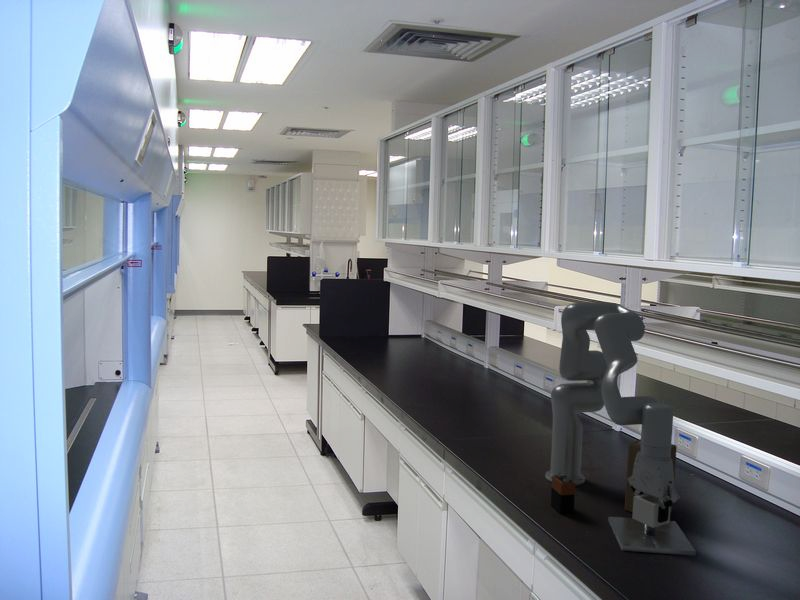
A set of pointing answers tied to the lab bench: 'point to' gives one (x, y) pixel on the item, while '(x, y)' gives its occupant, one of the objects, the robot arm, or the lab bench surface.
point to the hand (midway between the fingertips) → (651, 515)
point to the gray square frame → (647, 510)
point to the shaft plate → (650, 537)
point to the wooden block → (632, 453)
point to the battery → (562, 493)
